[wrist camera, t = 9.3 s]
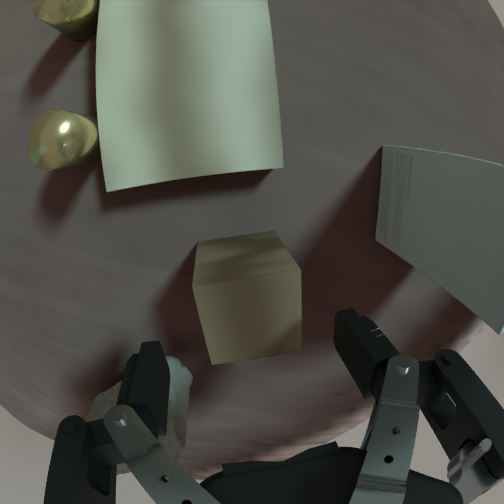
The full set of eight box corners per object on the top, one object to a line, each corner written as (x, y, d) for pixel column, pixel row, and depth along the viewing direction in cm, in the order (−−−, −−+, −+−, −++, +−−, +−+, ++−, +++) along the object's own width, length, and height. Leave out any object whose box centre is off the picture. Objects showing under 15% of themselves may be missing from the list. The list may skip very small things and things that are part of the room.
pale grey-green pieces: (253, -35, 11) (258, -53, 9) (274, 164, 17) (283, 167, 15) (114, -15, 10) (105, -30, 8) (120, 185, 16) (106, 192, 14)
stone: (171, 334, 20) (156, 446, 11) (212, 373, 22) (219, 476, 13) (77, 385, 21) (50, 463, 12) (115, 414, 23) (100, 490, 14)
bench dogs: (107, 0, 10) (81, -31, 6) (113, 155, 15) (77, 161, 10) (69, 15, 10) (37, -9, 5) (74, 166, 14) (31, 177, 10)
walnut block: (274, 230, 18) (301, 269, 13) (278, 295, 20) (301, 349, 15) (197, 241, 18) (192, 286, 12) (210, 306, 20) (211, 364, 14)
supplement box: (371, 241, 19) (496, 340, 8) (380, 142, 17) (542, 170, 5) (436, 238, 20) (544, 308, 9) (447, 155, 18) (574, 191, 6)
